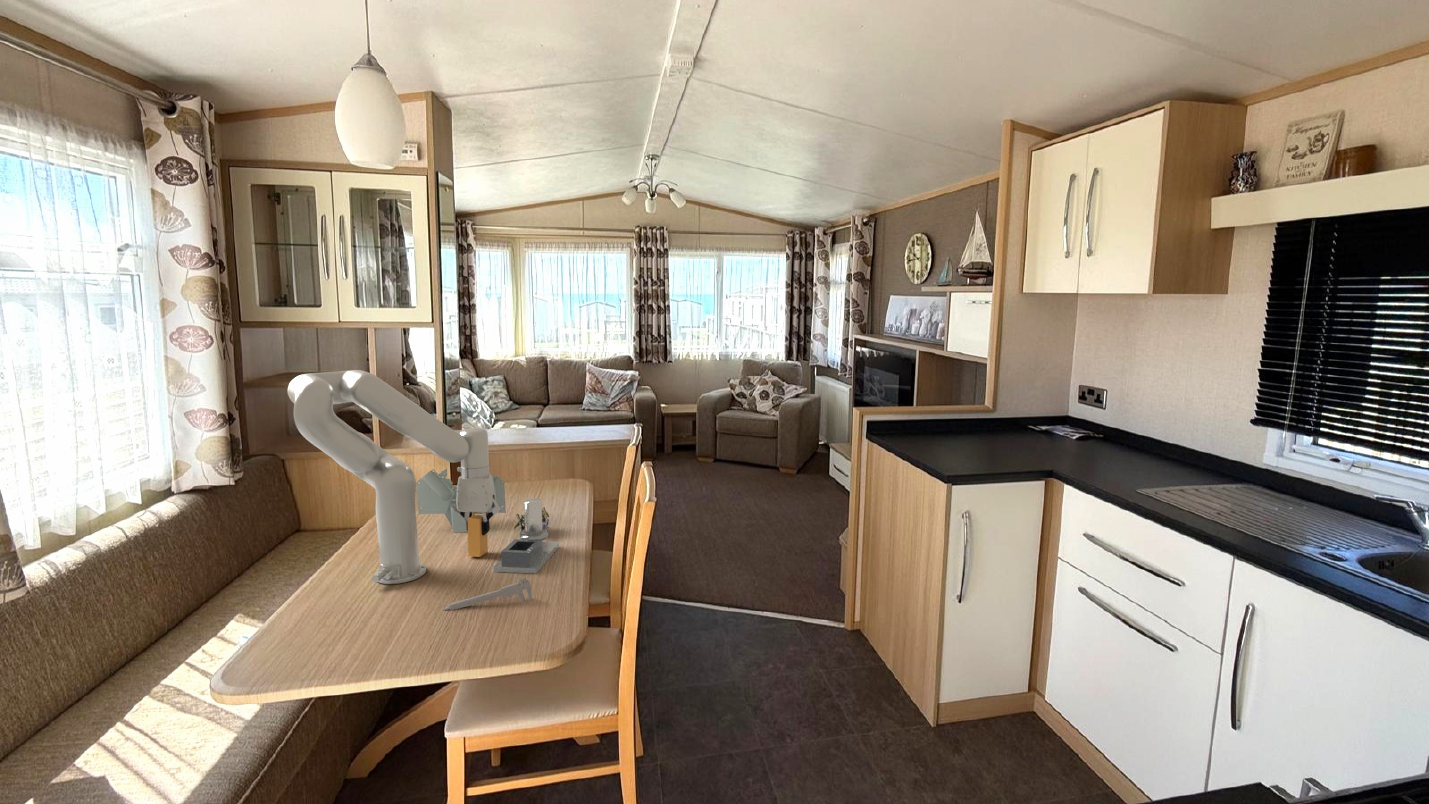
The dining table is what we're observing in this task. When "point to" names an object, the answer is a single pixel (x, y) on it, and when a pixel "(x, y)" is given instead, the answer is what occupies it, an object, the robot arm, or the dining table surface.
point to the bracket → (449, 498)
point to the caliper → (495, 595)
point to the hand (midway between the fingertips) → (478, 532)
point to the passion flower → (544, 520)
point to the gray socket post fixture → (528, 544)
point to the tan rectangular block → (476, 537)
